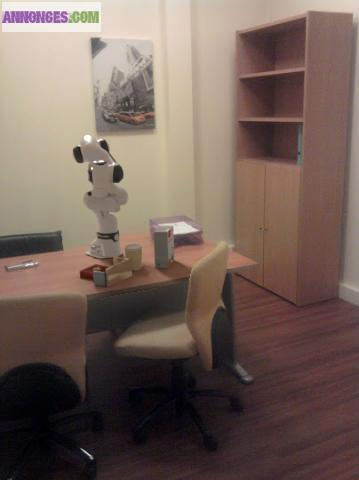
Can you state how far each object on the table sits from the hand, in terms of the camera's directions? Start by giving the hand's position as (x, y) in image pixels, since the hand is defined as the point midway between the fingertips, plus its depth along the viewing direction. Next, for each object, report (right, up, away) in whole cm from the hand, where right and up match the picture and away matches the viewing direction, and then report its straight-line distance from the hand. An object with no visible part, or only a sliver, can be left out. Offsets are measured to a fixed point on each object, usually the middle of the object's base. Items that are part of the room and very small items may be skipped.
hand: (104, 219), depth 240 cm
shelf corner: (+6, -31, -8) cm, 32 cm away
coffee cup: (+15, -26, +8) cm, 31 cm away
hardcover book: (0, -30, -4) cm, 31 cm away
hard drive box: (+31, -24, +13) cm, 41 cm away
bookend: (+1, -33, -16) cm, 37 cm away
